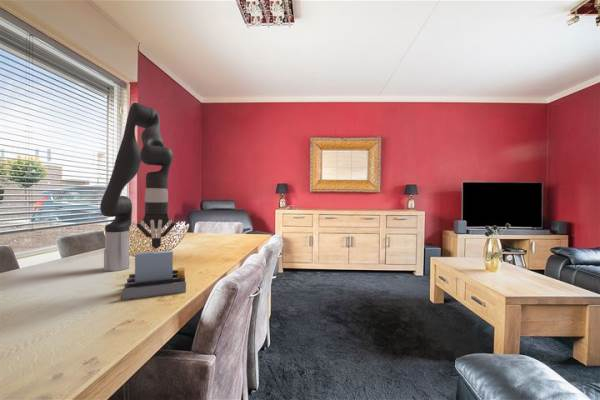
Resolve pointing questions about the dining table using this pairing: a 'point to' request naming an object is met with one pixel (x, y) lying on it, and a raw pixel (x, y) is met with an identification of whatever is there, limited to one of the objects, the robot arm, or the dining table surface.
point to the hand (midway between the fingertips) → (156, 248)
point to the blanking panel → (153, 266)
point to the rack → (154, 286)
